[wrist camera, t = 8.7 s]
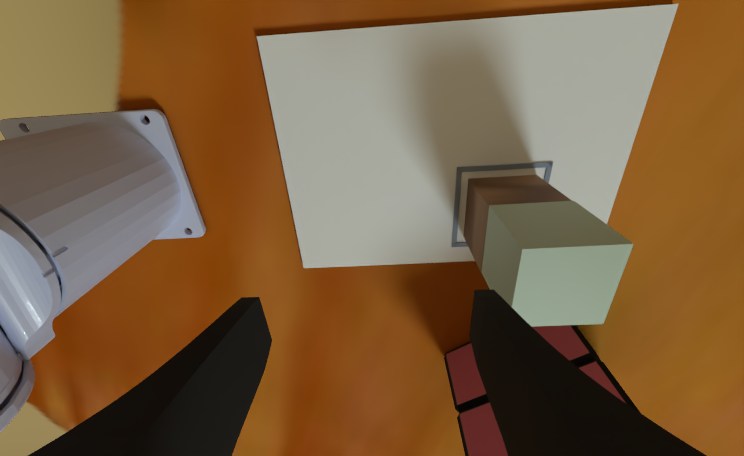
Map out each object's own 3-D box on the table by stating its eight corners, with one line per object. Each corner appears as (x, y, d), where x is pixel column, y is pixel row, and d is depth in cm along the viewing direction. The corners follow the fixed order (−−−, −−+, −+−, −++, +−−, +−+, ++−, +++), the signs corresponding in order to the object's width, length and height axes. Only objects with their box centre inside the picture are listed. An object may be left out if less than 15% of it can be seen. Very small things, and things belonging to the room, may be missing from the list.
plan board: (304, 265, 22) (303, 268, 22) (258, 36, 16) (255, 36, 15) (593, 253, 21) (597, 256, 21) (673, 4, 15) (680, 3, 15)
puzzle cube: (441, 352, 27) (472, 498, 18) (557, 299, 24) (663, 442, 15) (494, 411, 30) (542, 556, 21) (600, 371, 27) (706, 520, 18)
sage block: (481, 272, 17) (507, 327, 14) (489, 205, 15) (522, 249, 12) (556, 268, 17) (603, 323, 13) (573, 200, 15) (633, 243, 12)
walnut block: (463, 236, 21) (480, 272, 17) (468, 178, 19) (489, 205, 15) (525, 233, 20) (556, 270, 17) (536, 174, 19) (573, 201, 15)
